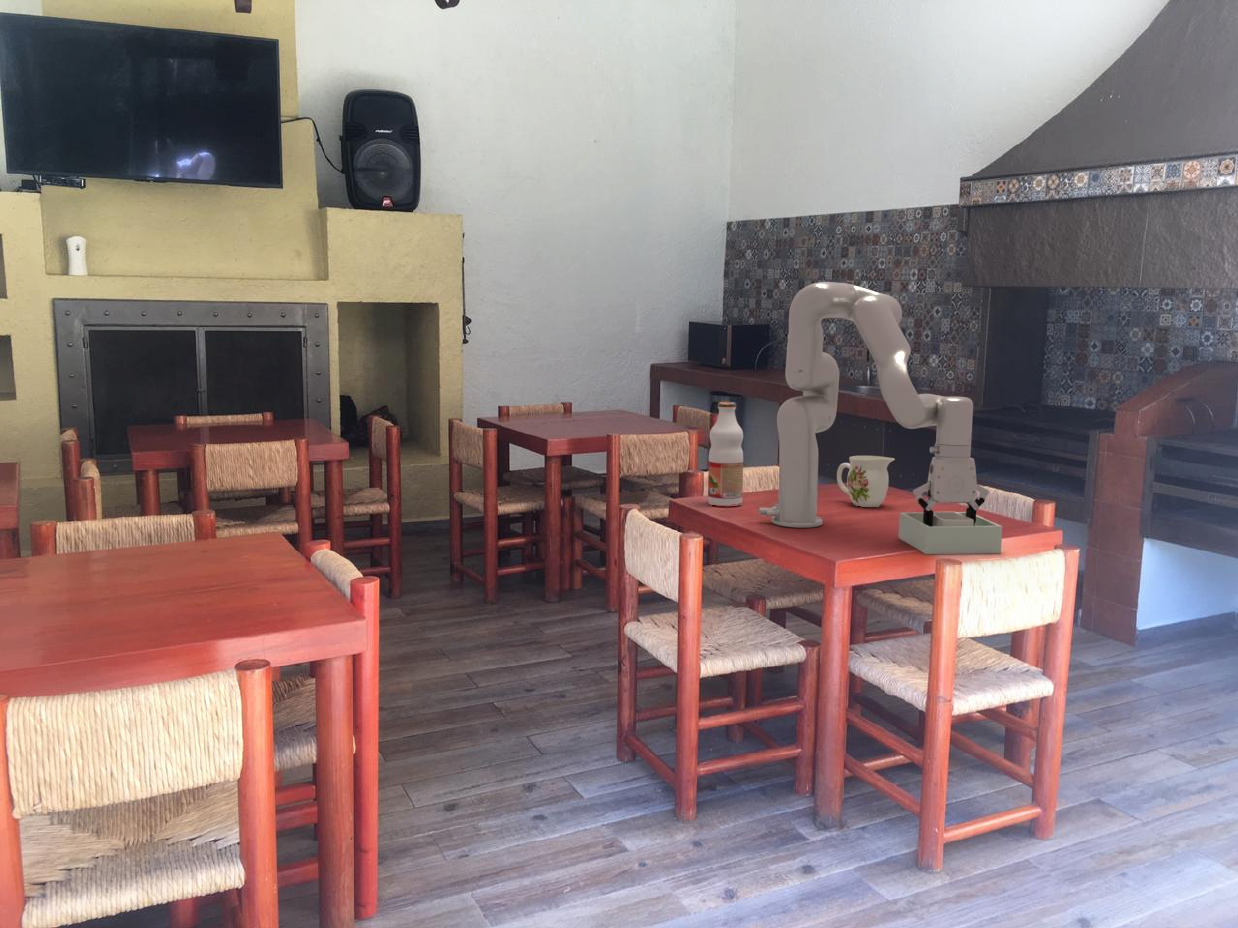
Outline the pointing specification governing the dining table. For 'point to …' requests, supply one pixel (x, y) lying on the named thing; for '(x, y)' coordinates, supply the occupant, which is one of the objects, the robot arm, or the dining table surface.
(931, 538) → the big crate
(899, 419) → the robot arm
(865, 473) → the pitcher
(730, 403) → the fruit juice
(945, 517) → the small tote
